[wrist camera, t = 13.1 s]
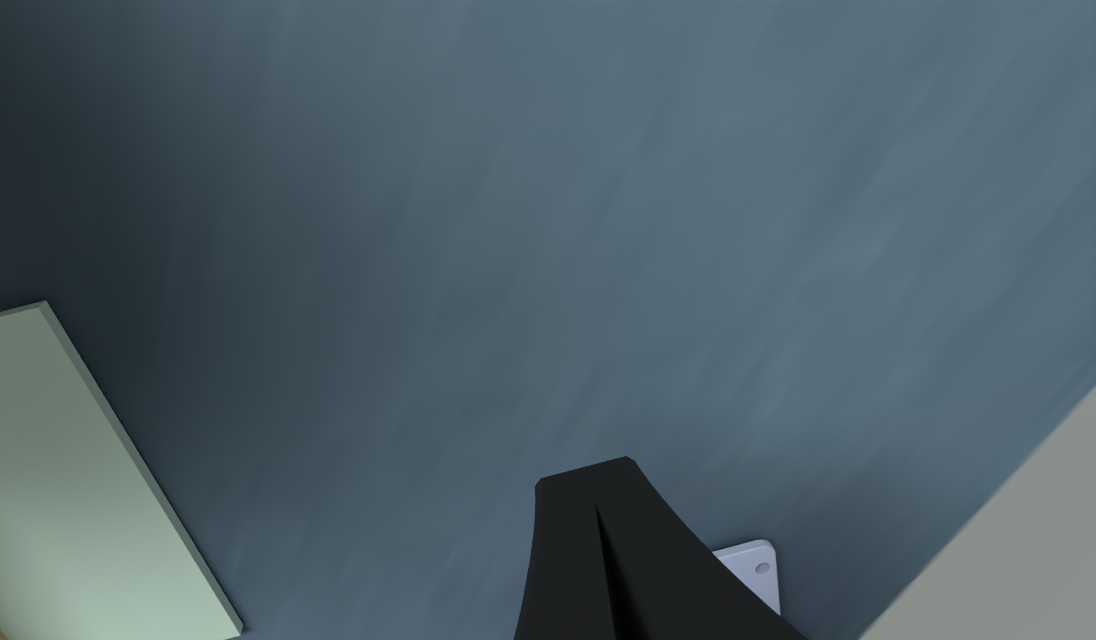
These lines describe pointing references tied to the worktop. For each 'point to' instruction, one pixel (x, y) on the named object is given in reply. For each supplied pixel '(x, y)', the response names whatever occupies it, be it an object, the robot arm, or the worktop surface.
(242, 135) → the worktop surface
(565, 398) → the worktop surface
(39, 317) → the rubber mat
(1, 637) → the oak slab
